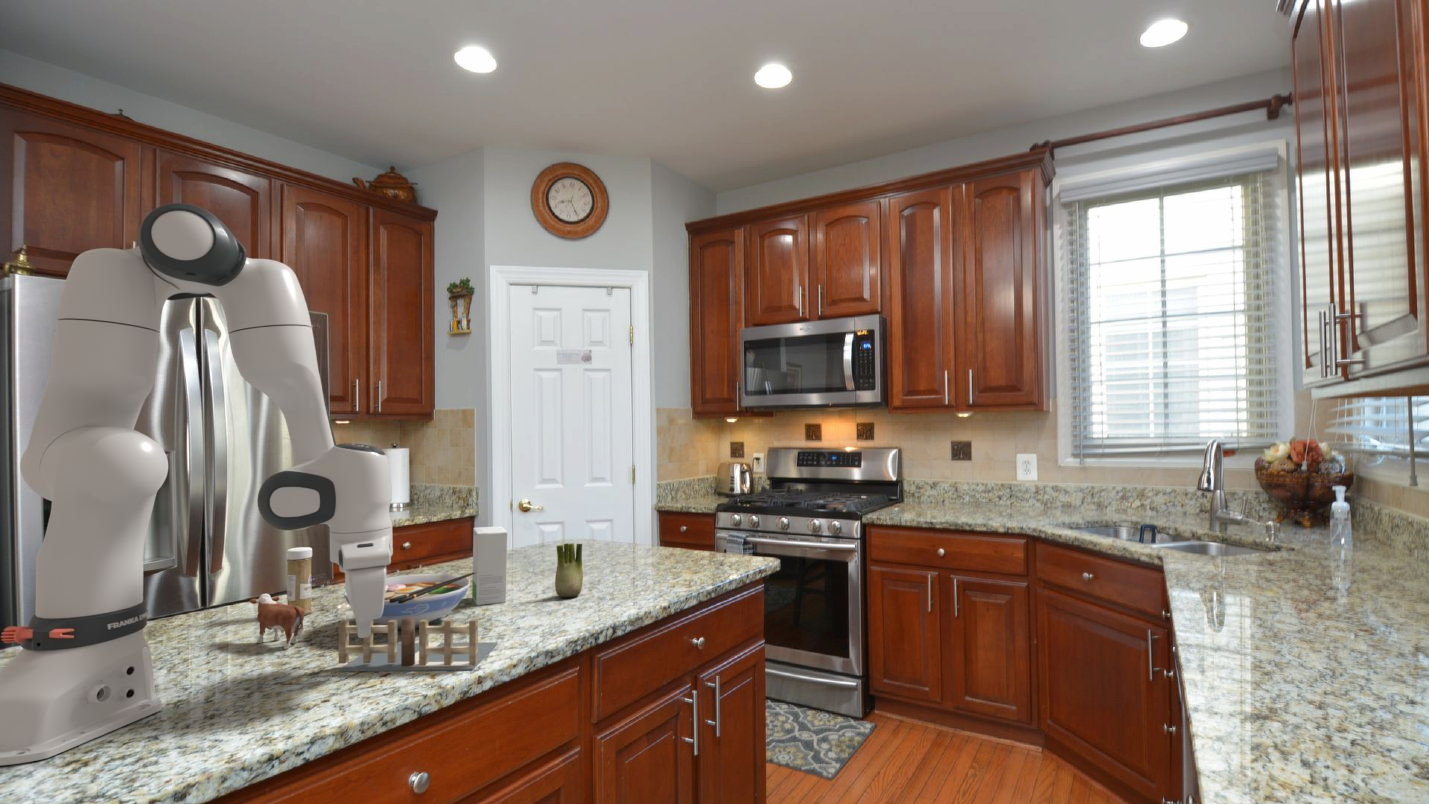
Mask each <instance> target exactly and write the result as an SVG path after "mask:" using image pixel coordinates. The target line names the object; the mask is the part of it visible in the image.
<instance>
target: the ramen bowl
mask: <svg viewBox="0 0 1429 804" xmlns="http://www.w3.org/2000/svg"><path fill="white" fill-rule="evenodd" d="M473 574H475V573H474V572H473V571H472V572H471V573H467V574H465V575H459V574H458V575H457V574H449V573H419V574H405V575H396V576H389V577H386V588H385V601H384V609H383V614H382V617H381V618H378V619H373V624H375V625H388V622H389V621H390V620H397V630H401V620H402V619H405V618H415V629H417V628H419V621H421V620H422V619H428V624H429V623H431V622H432V621H436V620H437V619H439V618H442V617H443V616H445V615H447V614H448V613H450V612H451V611H453V610H454V609H455V608H456V607H457V606H458V605H459V604H460V602H461V601H462V600H463V598H464V597H465V595H466V594H467V591H468V589H469V587H470V586H471V579H470V578H468V577H470V576H473ZM343 597H344V599H346V602H347V604H349V606H350V607H351V605H350V603H349V600H348V597H347V594H346V590H345V591H344V593H343Z"/></svg>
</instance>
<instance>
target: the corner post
mask: <svg viewBox="0 0 1429 804" xmlns="http://www.w3.org/2000/svg"><path fill="white" fill-rule="evenodd" d="M400 630H401V633H400V635H401V637H400V638H401V639H400V640H401V666H412V665H414V664H415V643H416V628H415V618H405V619H402V620H401V629H400Z"/></svg>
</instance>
